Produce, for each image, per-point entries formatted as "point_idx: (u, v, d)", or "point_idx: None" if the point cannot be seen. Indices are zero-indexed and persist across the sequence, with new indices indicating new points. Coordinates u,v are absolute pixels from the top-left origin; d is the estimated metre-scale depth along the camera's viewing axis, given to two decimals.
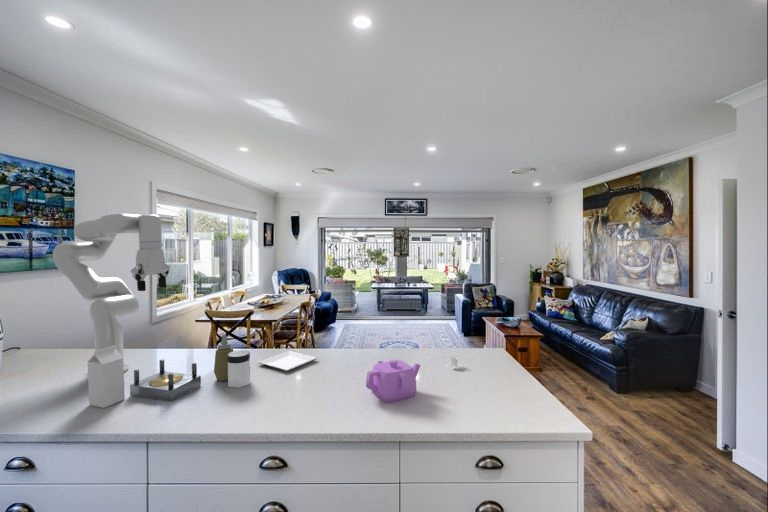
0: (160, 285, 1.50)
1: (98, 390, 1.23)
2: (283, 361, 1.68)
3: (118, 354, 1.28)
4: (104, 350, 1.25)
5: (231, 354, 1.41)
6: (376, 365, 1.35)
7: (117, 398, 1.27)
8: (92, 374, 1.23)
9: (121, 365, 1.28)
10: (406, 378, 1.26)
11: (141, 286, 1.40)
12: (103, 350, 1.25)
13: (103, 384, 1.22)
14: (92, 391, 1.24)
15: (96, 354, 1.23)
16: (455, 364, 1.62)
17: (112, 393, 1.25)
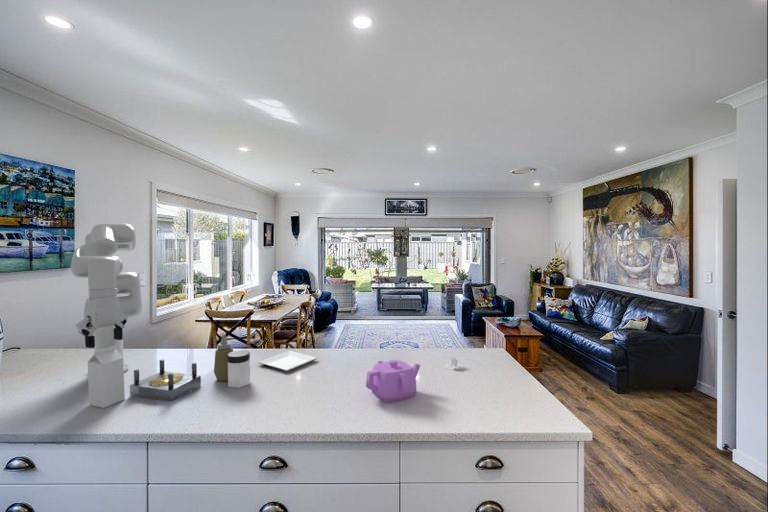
0: (116, 337, 1.30)
1: (98, 390, 1.23)
2: (283, 361, 1.68)
3: (118, 354, 1.28)
4: (104, 350, 1.25)
5: (231, 354, 1.41)
6: (376, 365, 1.35)
7: (117, 398, 1.27)
8: (92, 374, 1.23)
9: (121, 365, 1.28)
10: (406, 378, 1.26)
11: (89, 342, 1.20)
12: (103, 350, 1.25)
13: (103, 384, 1.22)
14: (92, 391, 1.24)
15: (96, 354, 1.23)
16: (455, 364, 1.62)
17: (112, 393, 1.25)
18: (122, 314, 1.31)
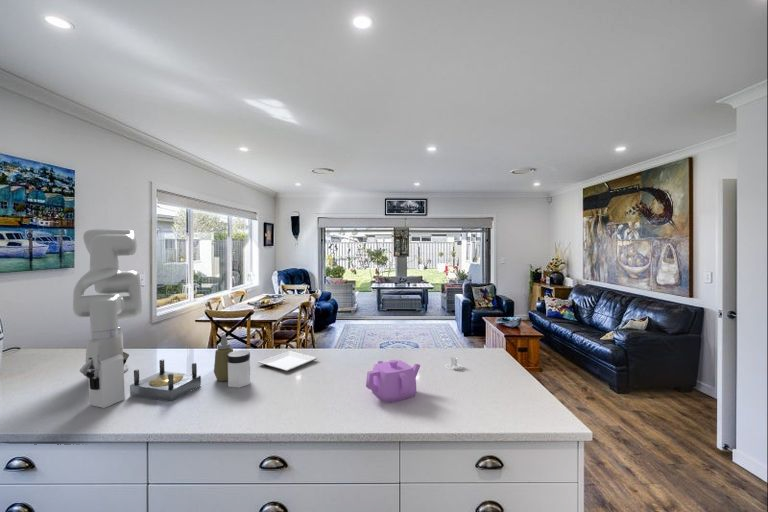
0: None
1: (98, 390, 1.23)
2: (283, 361, 1.68)
3: (118, 354, 1.28)
4: None
5: (231, 354, 1.41)
6: (376, 365, 1.35)
7: (117, 398, 1.27)
8: None
9: (121, 365, 1.28)
10: (406, 378, 1.26)
11: (94, 385, 1.22)
12: None
13: (103, 384, 1.22)
14: (93, 391, 1.24)
15: None
16: (455, 364, 1.61)
17: (112, 393, 1.25)
18: (123, 354, 1.32)
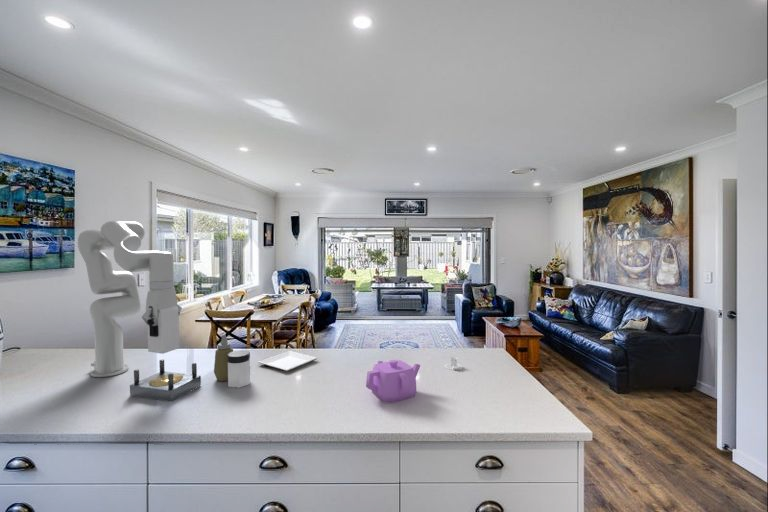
0: None
1: (157, 337, 1.31)
2: (283, 361, 1.68)
3: (174, 306, 1.37)
4: None
5: (231, 354, 1.41)
6: (376, 365, 1.35)
7: (173, 346, 1.35)
8: None
9: (177, 315, 1.36)
10: (406, 378, 1.26)
11: (153, 331, 1.30)
12: None
13: (162, 331, 1.31)
14: (152, 338, 1.32)
15: None
16: (454, 364, 1.61)
17: (169, 340, 1.34)
18: (177, 306, 1.40)
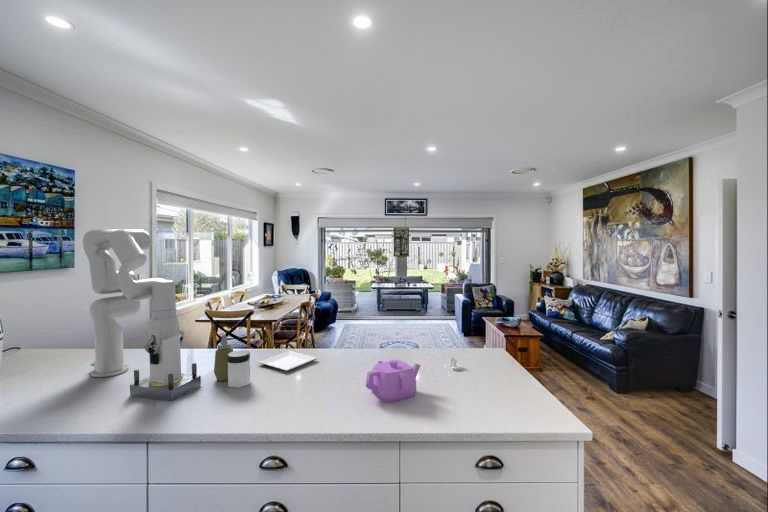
0: None
1: (160, 367, 1.32)
2: (283, 361, 1.68)
3: None
4: None
5: (231, 354, 1.41)
6: (376, 365, 1.35)
7: (175, 376, 1.36)
8: None
9: (178, 345, 1.37)
10: (406, 378, 1.26)
11: (154, 359, 1.30)
12: None
13: (164, 361, 1.32)
14: (154, 368, 1.33)
15: None
16: (454, 364, 1.61)
17: (171, 370, 1.35)
18: (179, 332, 1.41)
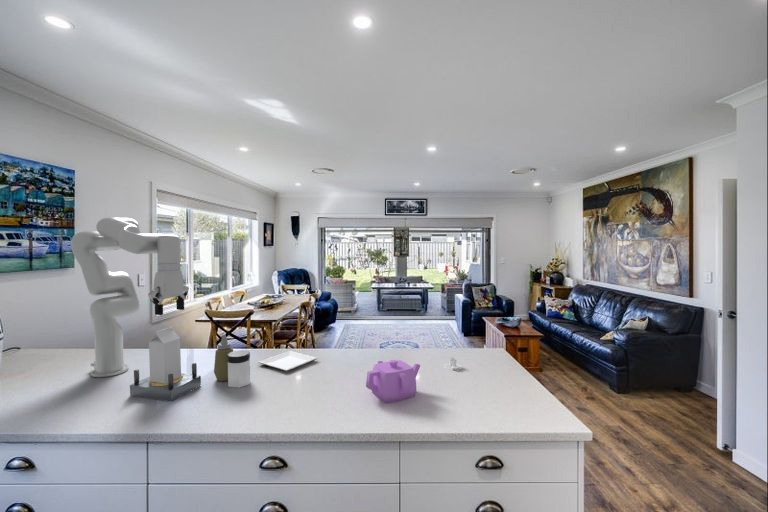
0: (178, 307, 1.44)
1: (160, 367, 1.32)
2: (283, 361, 1.68)
3: (175, 335, 1.38)
4: (163, 331, 1.35)
5: (231, 354, 1.41)
6: (376, 365, 1.35)
7: (175, 376, 1.36)
8: (154, 353, 1.33)
9: (178, 345, 1.37)
10: (406, 378, 1.26)
11: (158, 310, 1.35)
12: (163, 331, 1.35)
13: (164, 361, 1.32)
14: (154, 368, 1.33)
15: (157, 334, 1.32)
16: (454, 364, 1.61)
17: (171, 370, 1.35)
18: (184, 287, 1.45)
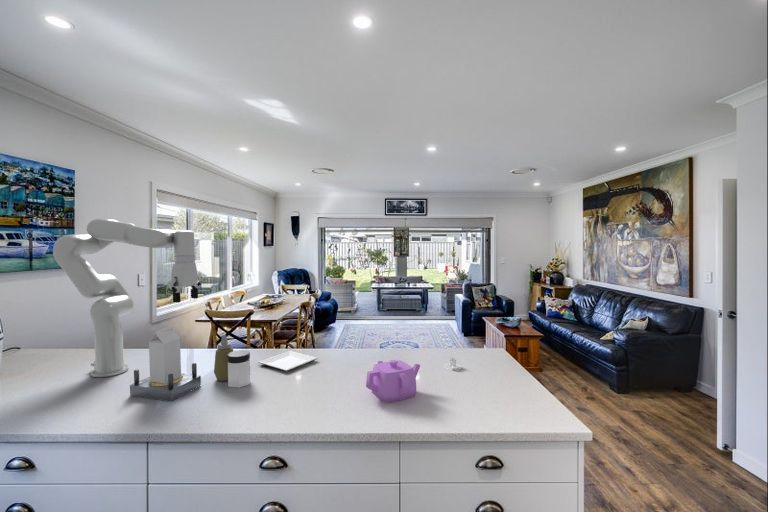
0: (192, 296, 1.59)
1: (160, 367, 1.32)
2: (283, 361, 1.68)
3: (175, 335, 1.38)
4: (163, 331, 1.35)
5: (231, 354, 1.41)
6: (376, 365, 1.35)
7: (175, 376, 1.36)
8: (154, 353, 1.33)
9: (178, 345, 1.37)
10: (406, 378, 1.26)
11: (176, 298, 1.49)
12: (163, 331, 1.35)
13: (164, 361, 1.32)
14: (154, 368, 1.33)
15: (157, 334, 1.32)
16: (454, 364, 1.61)
17: (171, 370, 1.35)
18: (197, 278, 1.61)
